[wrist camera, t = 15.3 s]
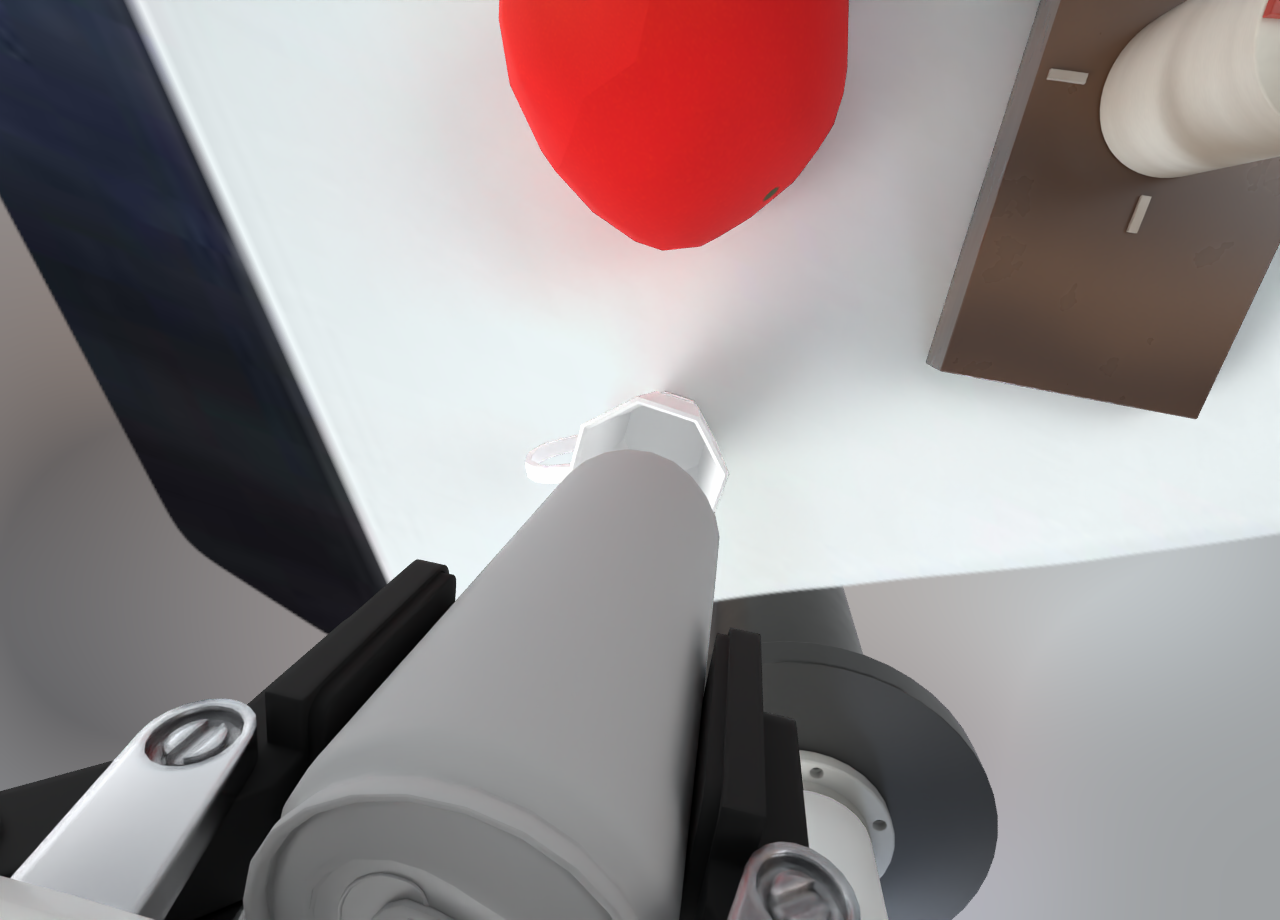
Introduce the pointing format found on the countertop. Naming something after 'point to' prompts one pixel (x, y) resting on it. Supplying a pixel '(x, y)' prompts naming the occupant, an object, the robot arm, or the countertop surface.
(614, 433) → the cup
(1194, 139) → the cream dial knob
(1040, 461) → the countertop surface
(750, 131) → the tomato
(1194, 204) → the dial plaque
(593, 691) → the beverage can
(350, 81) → the countertop surface
